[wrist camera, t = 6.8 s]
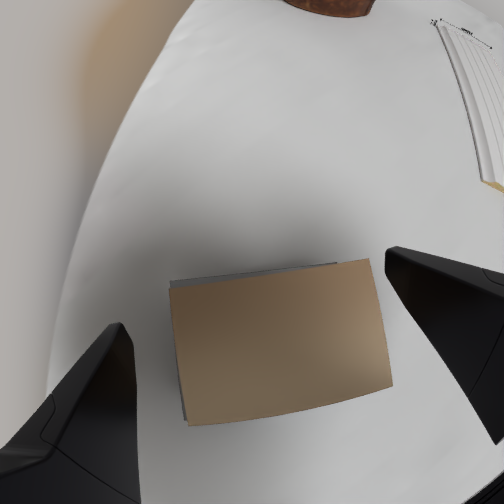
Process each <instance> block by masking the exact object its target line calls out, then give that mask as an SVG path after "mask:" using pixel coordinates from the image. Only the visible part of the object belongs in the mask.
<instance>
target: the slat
mask: <svg viewBox="0 0 504 504" xmlns="http://www.w3.org/2000/svg"><path fill="white" fill-rule="evenodd" d="M169 296H170V306H171V315H172V323H173V332H174V340H175V347H176V354H177V361H178V368H179V375H180V381H181V387H182V393H183V399H184V405H185V410H186V416H187V421H188V426H199V425H211V424H221V423H230V422H238V421H246V420H253V419H259V418H266V417H272V416H278V415H283V414H288V413H294V412H299V411H303V410H308V409H313V408H317V407H321V406H326V405H330V404H334V403H338V402H342V401H345V400H349V399H353V398H356V397H360V396H363V395H367V394H370V393H373V392H377V391H380V390H383V389H386V388H389V387H392V386H393V382H392V375H391V368H390V361H389V355H388V349H387V343H386V337H385V331H384V326H383V321H382V316H381V311H380V306H379V301H378V296H377V292H376V287H375V283H374V278H373V274H372V270H371V266H370V262H369V258H368V259H362V260H356V261H350V262H344V263H338V264H332V265H326V266H320V267H314V268H308V269H301V270H295V271H289V272H282V273H276V274H269V275H262V276H256V277H249V278H242V279H235V280H228V281H222V282H214V283H207V284H200V285H193V286H185V287H178V288H170V289H169Z"/></svg>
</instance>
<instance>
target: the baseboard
mask: <svg viewBox="0 0 504 504" xmlns="http://www.w3.org/2000/svg"><path fill="white" fill-rule="evenodd" d="M440 20H442V19H440ZM432 21H433V20H432ZM431 23H432V22H431ZM436 23H437V20H436ZM436 23H435V22H434V26H435V25H436ZM450 25H451V24H450ZM452 26H453V25H452ZM436 27H437V29H438V31H439V34H440V36H441V38H442V41H443V43H444V45H445V48H446V50H447V53H448V55H449V58H450V61H451V63H452V66H453V69H454V72H455V74H456V77H457V80H458V83H459V86H460V90H461V93H462V96H463V99H464V103H465V106H466V110H467V114H468V117H469V121H470V125H471V129H472V134H473V138H474V143H475V147H476V152H477V158H478V163H479V169H480V175H481V181H482V182H484V183H486V184H488V185H490V186H492V187H493V188H495V189H497V190H499V191H501V192H503V193H504V77H503V75H502V73H501V71H500V69H499V67H498V65H497V63H496V61H495V59H494V58H493V56H492V54H491V52H490V51H489V50H487V49H486V48H484V47H482V46H481V45H479V44H477V43H475V42H473V41H472V40H470V39H468V38H466V37H465V36H463V35H461V34H459V33H457V32H456V31H453V30H451V29H449V28H448V27H447V26H438V25H437V26H436ZM454 27H455V26H454ZM456 28H457V27H456ZM458 29H459V28H458ZM461 29H462V30H464V31H466V32H467V34H468V33H469V34H470V31H468V30H465V29H464V28H461ZM464 31H463V32H464ZM466 32H465V33H466ZM472 34H473V33H471V35H472ZM472 37H473V36H472ZM474 38H475V37H474ZM477 40H478V39H477ZM479 41H480V40H479ZM482 43H483V42H482ZM485 45H486V44H485ZM487 46H488V45H487ZM490 49H492V47H490Z"/></svg>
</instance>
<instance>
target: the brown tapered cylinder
mask: <svg viewBox="0 0 504 504" xmlns="http://www.w3.org/2000/svg"><path fill="white" fill-rule="evenodd" d="M285 1H287V2H288V3H290V4H292V5H294V6H296V7H299V8H302V9H305V10H308V11H311V12H315V13H319V14H324V15H330V16H337V17H358V16H365V15H367V14H369V12H370V10H371V8H372V5H373V3H374V1H375V0H285Z"/></svg>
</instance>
